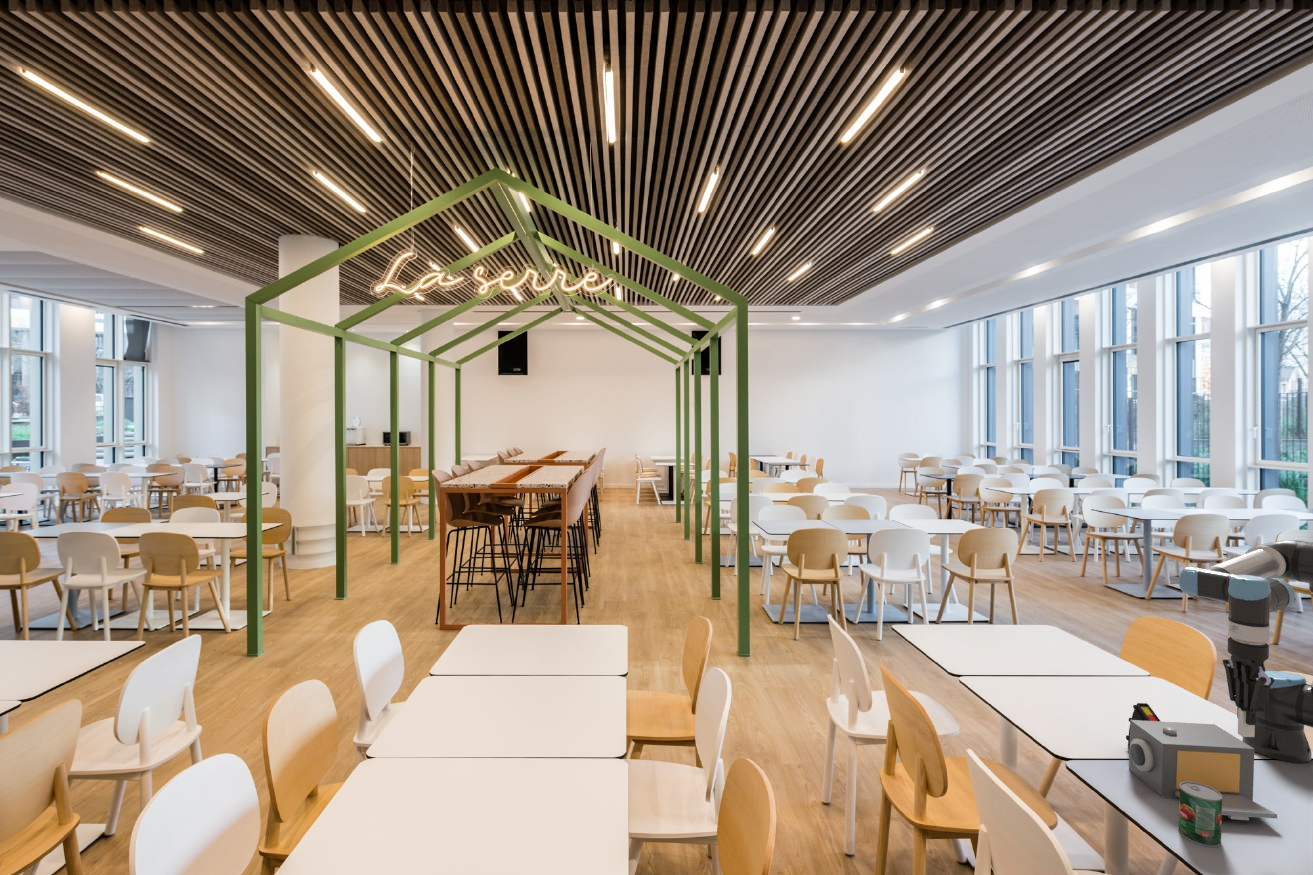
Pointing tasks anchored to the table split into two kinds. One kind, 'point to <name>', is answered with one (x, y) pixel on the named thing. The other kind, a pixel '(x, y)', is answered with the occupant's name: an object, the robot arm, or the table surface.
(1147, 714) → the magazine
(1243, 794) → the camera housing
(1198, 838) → the canned tomato
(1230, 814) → the door
